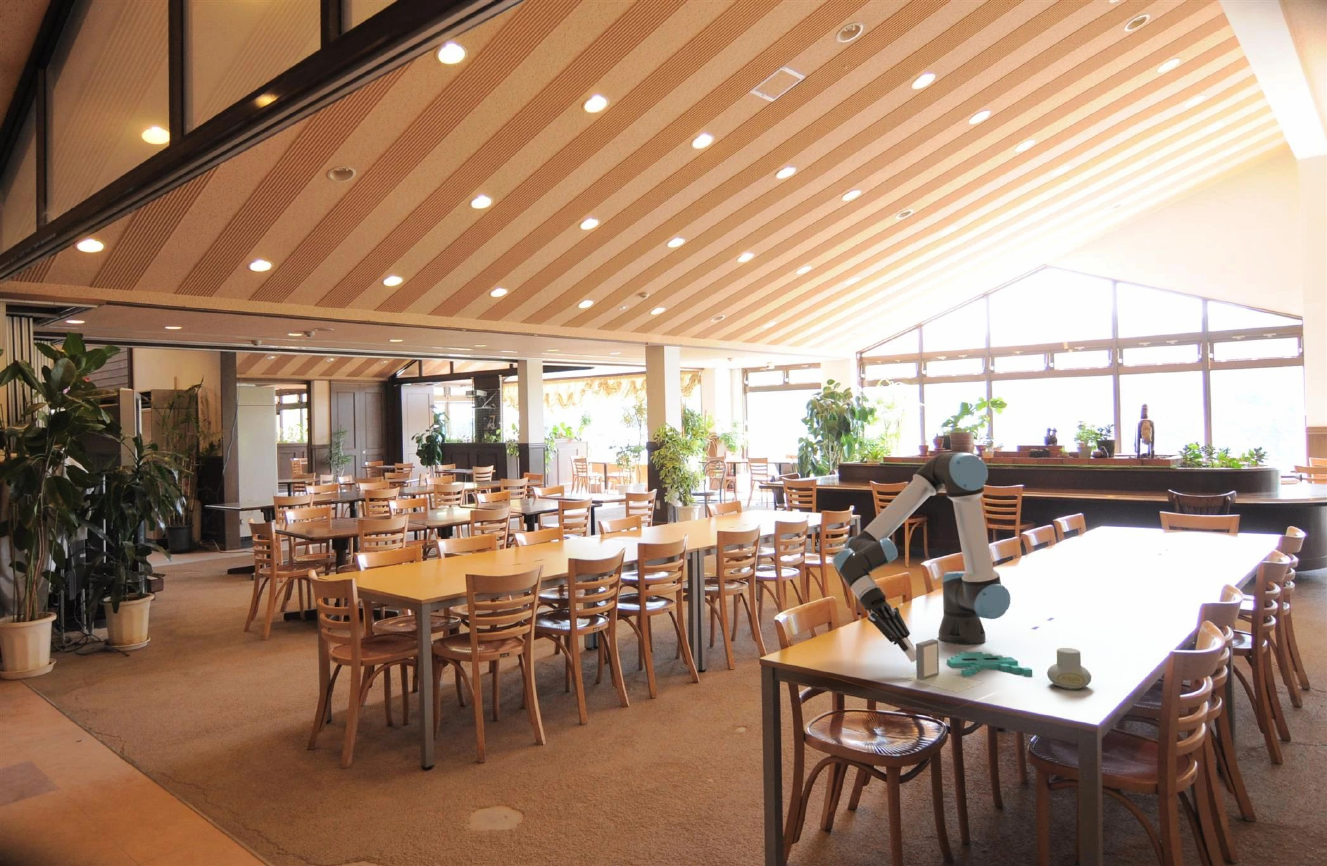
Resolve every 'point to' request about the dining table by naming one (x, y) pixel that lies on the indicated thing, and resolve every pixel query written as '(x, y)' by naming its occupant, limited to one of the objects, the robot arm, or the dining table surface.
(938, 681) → the felt mat
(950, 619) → the robot arm
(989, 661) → the alien figure
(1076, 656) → the air freshener
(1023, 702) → the dining table surface
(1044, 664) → the dining table surface
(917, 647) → the slate tile
